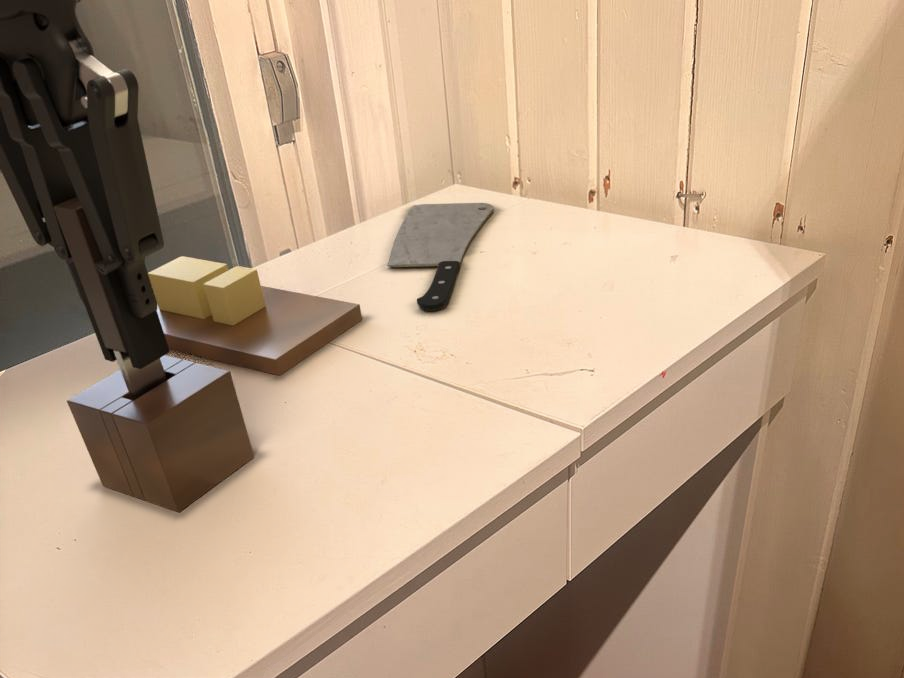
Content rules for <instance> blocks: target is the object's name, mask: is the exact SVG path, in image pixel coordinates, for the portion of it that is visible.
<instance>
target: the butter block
mask: <svg viewBox="0 0 904 678" xmlns="http://www.w3.org/2000/svg"><path fill="white" fill-rule="evenodd" d="M228 270H230V269H229V266H228V264H227V263H223V262H217V261H212V260H207V259H206V260H205V259H200V258H196V257H195V258H194V257H190V256H189V257H188V256H185V255H184V256H183V255H180V256H179V257H177V258H175V259H173V260H170V261H169V262H167V263H165V264H163V265H161V266H159V267H157V268H155V269H153V270H151V271H149V272H148V275H149V279H150V282H151V285H152V288H153V291H154V294H155V297H156V300H157V304H158V307H159V310H164V311H168V312H173V313H178V314H182V315H187V316H191V317H196V318H201V319H206V318H207V317H209V316H211V315H212V313H211V310H210V306H209V303H208V299H207V296H206V292H205V289H204V285H203V284H204V283H206V282H208V281H210V280H212V279H214V278H215V277H217V276H219V275H221V274H223V273H225V272H226V271H228Z"/></svg>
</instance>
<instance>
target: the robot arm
mask: <svg viewBox="0 0 904 678" xmlns="http://www.w3.org/2000/svg"><path fill="white" fill-rule="evenodd" d="M81 1H82V0H0V172H1V174H2V175H3V178H4V180H5V182H6V185H7V186H8V189H9V191H10V193H11V195H12V197H13V199H14V201H15V203H16V205H17V208H18V209H19V212H20V214H21V216H22V218H23V220H24V222H25V224H26V226H27V228H28V231H29V232H30V234H31V237H32V238H33V240H34V242H35V243H36V244H37V245H38V246H40V247H44V246H46V245H49V246H51V247H52V248H53V249H54V252H55V254H56V255H57V256H58V258H60V259H61V260H63V261H65V262H66V265H67V267H68V270H69V272H70V275H71V278H72V280H73V283H74V286H75V289H76V291H77V293H78V297H79V299H80V300H81V302H82V304H83V305H84V307H85V311H86V313H87V316H88V319H89V321H90V322H91V326H92V328H93V331H94V334H95V337H96V339H97V342H98V344H99V347H100V350H101V353H102V355H103V358H104V360H105V361H108V362H112V363H113V362H116V361H117V359H116V356H115V354H114V351H113V349H109V348H106V347H105V344H104V341H103V339H102V336H101V333H100V331H99V328H98V325H97V323H96V320H95V317H94V315H93V312H92V309H91V307H90V304H89V301H88V299H87V296H86V293H85V291H84V288H83V285H82V283H81V280H80V277H79V275H78V272H77V269H76V267H75V264H74V261H73V258H72V256H71V253H70V250H69V248H68V245H67V242H66V240H65V237H64V234H63V232H62V229H61V226H60V224H59V221H58V218H57V216H56V213H55V210H54V208H53V207H54V206H56V205H58V204H60V203H63V202H65V201H68V200H70V199H73V198H75V197H77V196H78V199H79V201H80V203H81V206H82V208H83V211H84V213H85V216H86V218H87V220H88V223H89V225H90V228H91V230H92V232H93V235H94V237H95V240H96V242H97V244H98V247H99V249H100V252H101V254H102V257H103V259H104V260H103V261H100V262H98V263H96V264H94V265H95V266H96V268H97V269H98V271H99V274H100V276H101V279H102V282H103V285H104V288H105V290H106V293H107V296H108V299H109V301H110V304H111V307H112V310H113V313H114V315H115V318H116V321H117V324H118V327H119V329H120V332H121V335H122V338H123V340H124V343H125V346H126V349H127V352H128V355H129V358H130V361H131V363H132V366H133V367H134V368H138V369H142V368H144V367H145V366H147V365H149V364H150V363H152V362H154V361H156V360H157V359H159V358H161V357H162V356H164V355H167V354H169V353H170V352H171V351H170V350H171V349H169V347H168V344H167V341H166V338H165V335H164V332H163V329H162V326H161V323H160V320H159V317H158V313H157V300H156V297H155V294H154V291H153V288H152V285H151V282H150V279H149V275H148V273H149V272H148V270H147V266H146V263H145V261H146V257H148V256H150V255H152V254H154V253H156V252H158V251H160V250H161V249H163V248H164V246H165V242H164V241H165V240H164V236H163V232H162V231H163V230H162V227H161V223H160V218H159V213H158V208H157V203H156V198H155V193H154V188H153V185H152V179H151V176H150V170H149V166H148V161H147V156H146V151H145V146H144V142H143V137H142V132H141V127H140V124H139V119H138V115H139V90H140V89H139V82H138V80H137V77H136V75H135V74H134V73H133V71H131V70H130V69H128V68H124V69H121V70H117V71H113V70H111V68H108V67H107V66H106V65H104V64H103V63H102V62H101V61H100V60H98V59H97V58H96V56H95V51H94V48H93V45H92V43H91V41H90V40H89V38H88V37H87V35H86V34H85V32H84V29H83V28H82V26H81V24H80V22H79V20H78V16H77V12H76V11H77V10H76V9H77V4H78V3H80V2H81ZM117 243H118V244H117Z"/></svg>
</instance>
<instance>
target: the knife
mask: <svg viewBox="0 0 904 678" xmlns="http://www.w3.org/2000/svg"><path fill="white" fill-rule="evenodd" d="M53 208H54V210H55V213H56V216H57V218H58V221H59V224H60V226H61V229H62V232H63V234H64V237H65V240H66V242H67V245H68V248H69V250H70V253H71V256H72V258H73V261H74V264H75V267H76V269H77V272H78V275H79V277H80V280H81V283H82V285H83V288H84V291H85V293H86V296H87V299H88V301H89V304H90V307H91V309H92V312H93V315H94V317H95V320H96V323H97V325H98V328H99V331H100V333H101V336H102V339H103V341H104V344H105V347H106V348H109V349H113V351H114V354H115V356H116V359H117V360H116V361H117V364H118V367H119V370H121V373H122V375H123V378H124V381H125V383H126V386H127V389H128V392H129V394H130V397H131V400H133V401H134V400H136V399H137V398H139V397H141V396H142V395H144V394H145V393H147V392H149V391H150V390H152V389H154V388H155V387H157V386H159V385H160V384H162V383H163V382H165V381H167V377H166V374H165V371H164V368H163V365H162V362H161V360H160V358H159V359H157V360H156V361H154V362H152V363H150V364H149V365H147V366H145V367H144V368H142V369H138V368H134V367H133V366H132V363H131V361H130V358H129V355H128V352H127V349H126V346H125V343H124V340H123V338H122V335H121V332H120V329H119V327H118V324H117V321H116V318H115V315H114V313H113V310H112V307H111V304H110V301H109V299H108V296H107V293H106V290H105V288H104V285H103V282H102V279H101V276H100V274H99V271H98V269H97V268H96V266H95V265H94V264H96V263H98V262H100V261H103V260H104V259H103V257H102V254H101V252H100V249H99V247H98V244H97V242H96V240H95V237H94V235H93V232H92V230H91V228H90V225H89V223H88V220H87V218H86V216H85V213H84V211H83V208H82V206H81V203H80V201H79V199H78V196H77V197H75V198H73V199H70V200H68V201H65V202H63V203H60V204H58V205H56V206H54V207H53ZM117 244H118V243H117Z"/></svg>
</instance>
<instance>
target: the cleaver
mask: <svg viewBox="0 0 904 678" xmlns="http://www.w3.org/2000/svg"><path fill="white" fill-rule="evenodd" d="M494 210H495V207H494V205H492V204H491V203H488V202H459V203H458V202H457V203H456V202H455V203H454V202H453V203H420V204H413V205H412V206H411V208H410V210H408V213H407V214H406V216H405V217H404V218H403V221H402V223H401V225H400V226H399V229H398V231H397V233H396V235H395V239H394V241H393V244H392V248H391V251H390V254H389V258H388V261H387V265H386V266H387V267H393V268H401V267H403V268H404V267H407V268H408V267H437V268H436V271H435V274H434V277H433V280H432V282H431V284H430V286H429V288H428V290H427V291H426V292H425V293H424V295H422V296H420V297H418V298H417V299H416V304H417V305H418V306H419V308H420V309H422V310H424V311H437V310H439V309H442V308H444V307H446V305H447V304H448V302H449V300H450V297H451V294H452V292H453V288H454V285H455V282H456V279H457V276H458V273H459V270H460V268H461V262H462V260H463V258H464V255H465V252H466V250H467V249H468V247H469V245H470V243H471V241H472V240H473V238H474V237H475V236H476V234H477V232H478V230H480V228H481V227H482V225H483V224H484V223H485V222H486V220H487V219H488V218H489V217H490V215H491V214H492V213H493V212H494Z"/></svg>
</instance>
